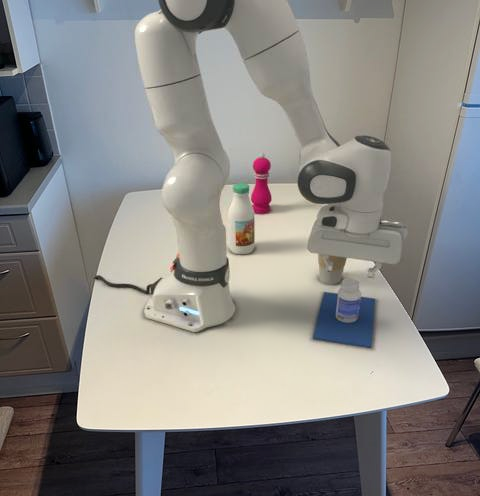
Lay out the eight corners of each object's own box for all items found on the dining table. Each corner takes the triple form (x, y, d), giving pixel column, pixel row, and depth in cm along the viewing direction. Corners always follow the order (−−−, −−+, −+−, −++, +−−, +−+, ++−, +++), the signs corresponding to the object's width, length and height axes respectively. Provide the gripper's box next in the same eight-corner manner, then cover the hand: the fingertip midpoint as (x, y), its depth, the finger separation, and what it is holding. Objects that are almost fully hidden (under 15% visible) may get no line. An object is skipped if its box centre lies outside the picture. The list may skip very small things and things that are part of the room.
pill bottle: (361, 322, 117) (367, 287, 111) (339, 324, 116) (344, 290, 110) (352, 309, 121) (357, 275, 115) (331, 312, 120) (335, 278, 114)
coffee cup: (346, 289, 130) (353, 238, 121) (310, 285, 131) (315, 235, 122) (347, 271, 137) (354, 222, 128) (313, 268, 139) (318, 219, 130)
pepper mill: (248, 207, 175) (248, 151, 163) (267, 205, 176) (268, 149, 165) (254, 215, 169) (255, 157, 157) (274, 213, 171) (276, 155, 159)
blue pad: (313, 339, 112) (313, 337, 112) (324, 293, 128) (324, 291, 128) (370, 348, 110) (371, 346, 109) (374, 300, 125) (375, 298, 125)
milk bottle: (226, 253, 147) (224, 189, 135) (232, 242, 153) (231, 179, 141) (251, 256, 145) (251, 191, 133) (256, 244, 151) (257, 181, 140)
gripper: (409, 217, 104) (396, 273, 112) (314, 205, 108) (307, 260, 116) (410, 229, 99) (396, 287, 107) (309, 217, 103) (303, 273, 111)
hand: (349, 273), depth 111 cm, fingers open, 8 cm apart
